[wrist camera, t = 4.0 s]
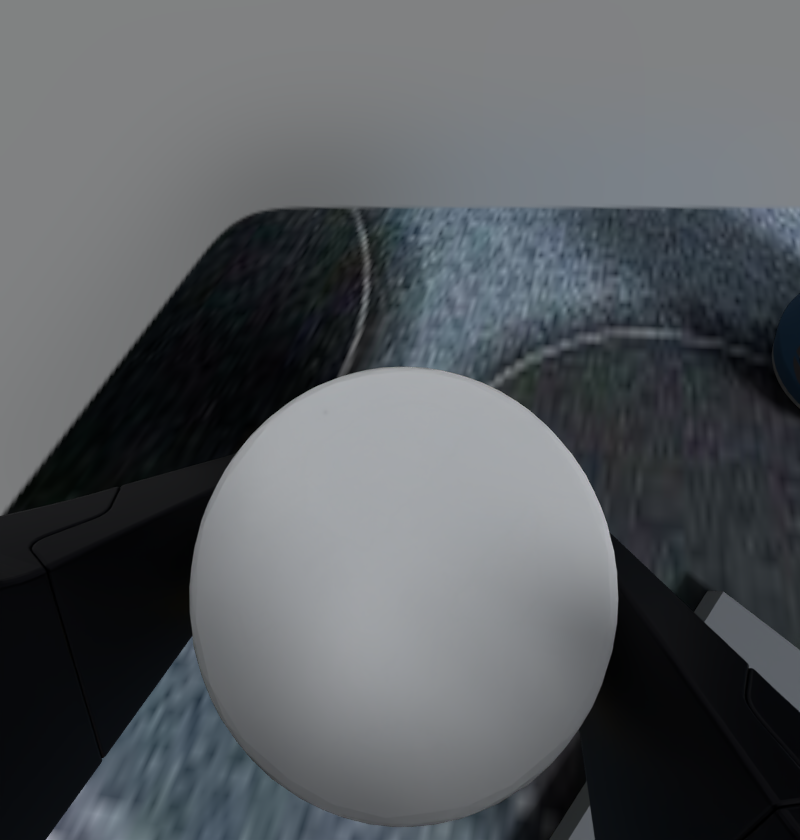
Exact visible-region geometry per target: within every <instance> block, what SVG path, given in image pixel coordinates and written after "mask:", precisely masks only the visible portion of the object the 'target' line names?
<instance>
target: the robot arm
mask: <svg viewBox="0 0 800 840" xmlns="http://www.w3.org/2000/svg"><path fill="white" fill-rule="evenodd" d="M235 455H236V454H233V455H229V456H225V457H222V458H218V459H215V460H211V461H208V462H204V463H201V464H197V465H193V466H190V467H186V468H183V469H179V470H176V471H172V472H169V473H165V474H161V475H158V476H154V477H151V478H147V479H144V480H140V481H137V482H133V483H129V484H126V485H123V486H121V488H120V487H115V488H111V489H108V490H104V491H101V492H97V493H94V494H90V495H86V496H82V497H79V498H75V499H71V500H67V501H63V502H59V503H55V504H51V505H47V506H42V507H38V508H34V509H30V510H25V511H21V512H17V513H12V514H8V515H3V516H0V840H46V839H47V837H48V836H49V834H50V833H51V832H52V830H53V829H54V827H55V826H56V825H57V823H58V822H59V821H60V819H61V818H62V816H63V815H64V814H65V812H66V811H67V809H68V808H69V807H70V805H71V804H72V802H73V801H74V800H75V798H76V797H77V796H78V794H79V793H80V791H81V790H82V789H83V787H84V786H85V784H86V783H87V782H88V780H89V779H90V777H91V776H92V775H93V773H94V772H95V771H96V769H97V768H98V766H99V765H100V764H101V762H102V758H104V757H105V756H106V755H107V753H108V752H109V751H110V749H111V748H112V746H113V745H114V744H115V742H116V741H117V739H118V738H119V737H120V735H121V734H122V733H123V731H124V730H125V728H126V727H127V726H128V724H129V723H130V721H131V720H132V719H133V717H134V716H135V715H136V713H137V712H138V710H139V709H140V708H141V706H142V705H143V703H144V702H145V701H146V699H147V698H148V696H149V695H150V694H151V692H152V691H153V690H154V688H155V687H156V685H157V684H158V683H159V681H160V680H161V678H162V677H163V676H164V674H165V673H166V672H167V670H168V669H169V667H170V666H171V665H172V663H173V662H174V660H175V659H176V658H177V656H178V655H179V653H180V652H181V651H182V649H183V648H184V647H185V645H186V644H187V642H188V641H189V640H190V638H191V637H192V635H193V634H192V625H191V618H190V595H189V586H190V576H191V567H192V560H193V554H194V547H195V543H196V540H197V536H198V532H199V528H200V524H201V521H202V518H203V515H204V513H205V510H206V507H207V504H208V502H209V500H210V498H211V496H212V494H213V492H214V490H215V488H216V486H217V484H218V482H219V480H220V478H221V477H222V475H223V473H224V471H225V469H226V468H227V466H228V465H229V463H230V462H231V460H232V458H233V457H234V456H235ZM609 534H610V538H611V541H612V545H613V549H614V555H615V562H616V569H617V584H618V613H617V626H616V632H615V638H614V644H613V650H612V654H611V657H610V660H609V663H608V666H607V670H606V673H605V676H604V679H603V682H602V686H601V688H600V690H599V693H598V695H597V697H596V700H595V702H594V704H593V707H592V708H591V710H590V712H589V713H588V715H587V717H586V718H585V720H584V722H583V723H582V725H581V727H580V728H579V730H580V738H581V745H582V752H583V759H584V766H585V773H586V781H587V788H588V795H589V802H590V809H591V816H592V824H593V831H594V838H595V840H800V712H799V711H798V710H797V709H796V708H795V707H794V706H793V705H792V704H791V703H790V702H789V701H788V700H786V699H785V698H784V697H783V696H782V695H781V694H780V693H779V692H778V691H777V690H776V689H775V688H774V687H772V686H771V685H770V684H769V683H768V682H767V681H766V680H765V679H764V678H763V677H762V676H761V675H760V674H759V673H758V672H757V671H756V670H755V669H753V668H749V664H748V663H747V662H746V661H745V660H744V659H743V658H742V657H741V656H740V655H739V654H738V653H737V652H735V651H734V650H733V649H732V648H731V647H730V646H729V645H728V644H727V643H726V642H725V641H724V640H723V639H722V638H721V637H720V636H719V635H717V634H716V633H715V632H714V631H713V630H712V629H711V628H710V627H709V626H708V625H707V624H706V623H705V622H704V621H703V620H702V619H701V618H700V617H698V616H697V615H696V614H695V613H694V612H693V611H692V610H691V609H690V608H689V607H688V606H687V605H686V604H685V603H684V602H683V601H682V600H681V599H679V598H678V597H677V596H676V595H675V594H674V593H673V592H672V591H671V590H670V589H669V588H668V587H667V586H666V585H665V584H664V583H663V582H661V581H660V580H659V579H658V578H657V577H656V576H655V575H654V574H653V573H652V572H651V571H650V570H649V569H648V568H647V567H646V566H645V565H644V564H642V563H641V562H640V561H639V560H638V559H637V558H636V557H635V556H634V555H633V554H632V553H631V552H630V551H629V550H628V549H627V548H626V547H625V546H623V545H622V544H621V543H620V542H619V541H618V540H617V539H616V538H615V537H614V536H613V535H612V534H611V533H610V532H609Z"/></svg>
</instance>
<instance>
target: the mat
mask: <svg viewBox="0 0 800 840" xmlns="http://www.w3.org/2000/svg"><path fill="white" fill-rule="evenodd" d="M694 613H695V614H696V615H697V616H698V617H700V618H701V619H702V620H703V621H704V622H705V623H706V624H707V625H708V626H709V627H710V628H711V629H712V630H713V631H714V632H715V633H716V634H717V635H719V636H720V637H721V638H722V639H723V640H724V641H725V642H726V643H727V644H728V645H729V646H730V647H731V648H732V649H733V650H734V651H735V652H737V653H738V654H739V655H740V656H741V657H742V658H743V659H744V660H745V661H746V662H747V663H748V664H749V668H753V669H755V670H756V671H757V672H758V673H759V674H760V675H761V676H762V677H763V678H764V679H765V680H766V681H767V682H768V683H769V684H770V685H771V686H772V687H774V688H775V689H776V690H777V691H778V692H779V693H780V694H781V695H782V696H783V697H784V698H785V699H786V700H788V701H789V702H790V703H791V704H792V705H793V706H794V707H795V708H796V709H797V710H798V711H799V712H800V650H799V649H798V648H796V647H795V646H794V645H792V644H791V643H790V642H788V641H787V640H786V639H785V638H783V637H782V636H781V635H779V634H778V633H777V632H775V631H774V630H773V629H771V628H770V627H769V626H768V625H766V624H765V623H764V622H762V621H761V620H760V619H758V618H757V617H756V616H755V615H753V614H752V613H751V612H749V611H748V610H747V609H745V608H744V607H743V606H742V605H740V604H739V603H738V602H736V601H735V600H734V599H732V598H731V597H730V596H728V595H727V594H726V593H725V592H722V591H707V592H706V594H705V596H704V597H703V599H702V600H701V602H700V603H699V605H698V607H697V608H696V610H695V611H694ZM549 840H595V838H594V831H593V824H592V816H591V809H590V802H589V795H588V788H587V781H586V783H585V784H584V786H583V787H582V789H581V791H580V792H579V794H578V795H577V797H576V798H575V800H574V802H573V803H572V805H571V806H570V808H569V809H568V811H567V813H566V814H565V816H564V817H563V819H562V820H561V822H560V824H559V825H558V827H557V828H556V830H555V831H554V833H553V835H552V836H551V838H550V839H549Z"/></svg>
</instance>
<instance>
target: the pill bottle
mask: <svg viewBox="0 0 800 840" xmlns="http://www.w3.org/2000/svg"><path fill="white" fill-rule="evenodd" d="M189 595H190V618H191V625H192V634H193V643H194V649H195V653H196V657H197V660H198V664H199V667H200V671H201V675H202V677H203V680H204V683H205V685H206V688H207V690H208V693H209V695H210V698H211V700H212V702H213V704H214V706H215V708H216V710H217V712H218V714H219V716H220V718H221V719H222V721H223V722H224V724H225V725H226V727H227V728H228V729H229V731H230V732H231V734H232V735H233V737H234V738H235V740H236V741H237V742H238V744H239V745H240V746H241V747H242V748H243V750H244V751H245V752H246V753H247V754H248V755H249V757H250V758H251V759H252V760H253V761H254V762H255V763H256V764H257V765H258V766H259V767H260V768H261V769H262V770H263V771H264V772H265V773H266V774H267V775H268V776H270V777H271V778H272V779H273V780H274V781H276V782H277V783H279V784H280V785H282V786H283V787H284V788H286V789H287V790H289V791H290V792H292V793H293V794H295V795H296V796H298V797H299V798H301V799H302V800H304V801H306V802H309V803H311V804H313V805H315V806H317V807H319V808H321V809H323V810H325V811H328V812H330V813H333V814H336V815H338V816H341V817H343V818H347V819H351V820H355V821H359V822H363V823H367V824H372V825H381V826H390V827H414V826H424V825H434V824H439V823H444V822H448V821H452V820H457V819H461V818H463V817H466V816H469V815H472V814H474V813H477V812H479V811H482V810H484V809H486V808H489V807H491V806H494V805H496V804H498V803H500V802H501V801H503V800H505V799H506V798H508V797H509V796H511V795H512V794H514V793H515V792H517V791H519V790H520V789H522V788H523V787H525V786H526V785H528V784H529V783H530V782H531V781H533V780H534V779H535V778H536V777H537V776H538V775H540V774H541V773H542V772H543V771H544V770H545V769H546V768H548V767H549V766H550V765H551V764H552V762H553V761H554V760H555V759H556V758H557V757H558V756H559V754H560V753H561V752H562V751H563V750H564V749H565V748H566V746H567V745H568V744H569V742H570V741H571V739H572V738H573V736H574V735H575V734H576V732H577V731H578V729H579V728H580V727H581V725H582V723H583V722H584V720H585V718H586V717H587V715H588V713H589V712H590V710H591V708H592V707H593V704H594V702H595V700H596V697H597V695H598V693H599V690H600V688H601V686H602V682H603V679H604V676H605V673H606V670H607V666H608V663H609V660H610V657H611V654H612V650H613V644H614V638H615V632H616V626H617V613H618V584H617V569H616V562H615V555H614V549H613V545H612V541H611V538H610V534H609V530H608V526H607V522H606V519H605V517H604V514H603V511H602V509H601V506H600V504H599V501H598V499H597V497H596V495H595V492H594V490H593V488H592V486H591V484H590V482H589V480H588V478H587V476H586V475H585V473H584V472H583V470H582V469H581V467H580V466H579V464H578V463H577V461H576V460H575V458H574V457H573V455H572V454H571V453H570V451H569V450H568V449H567V448H566V447H565V445H564V444H563V443H562V442H561V441H560V440H559V438H558V437H557V436H556V435H555V434H554V433H553V432H552V431H551V430H550V429H549V428H548V426H547V425H545V424H544V423H543V422H542V421H541V420H540V419H539V418H537V417H536V416H535V415H534V414H533V413H532V412H531V411H529V410H528V409H527V408H525V407H524V406H522V405H521V404H520V403H518V402H517V401H515V400H514V399H512V398H510V397H509V396H507V395H505V394H504V393H502V392H501V391H499V390H497V389H495V388H492V387H490V386H488V385H486V384H484V383H482V382H479V381H476V380H473V379H470V378H468V377H464V376H461V375H458V374H454V373H450V372H446V371H441V370H435V369H429V368H418V367H385V368H377V369H370V370H364V371H360V372H356V373H353V374H349V375H345V376H341V377H339V378H336V379H334V380H331V381H329V382H326V383H324V384H321V385H319V386H316V387H314V388H312V389H310V390H308V391H307V392H305V393H303V394H302V395H300V396H298V397H297V398H295V399H293V400H292V401H290V402H289V403H288V404H286V405H285V406H284V407H282V408H281V409H280V410H278V411H277V412H276V413H275V414H273V415H272V416H271V417H269V418H268V419H267V420H266V421H265V422H264V423H263V424H262V425H261V426H260V427H259V428H258V429H257V430H256V431H255V432H254V433H253V434H252V435H251V436H250V437H249V438H248V440H247V441H246V442H245V443H244V445H243V446H242V447H241V448H240V450H239V451H238V452H237V453H236V455H235V456H234V457H233V458H232V460H231V462H230V463H229V465H228V466H227V468H226V469H225V471H224V473H223V475H222V477H221V478H220V480H219V482H218V484H217V486H216V488H215V490H214V492H213V494H212V496H211V498H210V500H209V502H208V504H207V507H206V510H205V513H204V515H203V518H202V521H201V524H200V528H199V532H198V536H197V540H196V543H195V547H194V554H193V560H192V567H191V576H190V586H189Z"/></svg>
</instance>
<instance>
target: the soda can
mask: <svg viewBox="0 0 800 840" xmlns="http://www.w3.org/2000/svg"><path fill="white" fill-rule="evenodd" d="M772 364H773V369H774V372H775V375H776V378H777V380H778V382H779V384H780V386H781V387H782V389H783V390H784V392H785V393H786V395H787V396H788V397H789V398H790V399H791V401H792V402H793V403H794V404H795V405H796V406H797V407H798V408H800V293H799V294H798V295H797V296H796V297H795V298H794V299H793V300H792V301H791V302H790V304H789V305H788V306H787V308H786V309H785V311H784V313H783V315H782V317H781V319H780V322H779V325H778V328H777V332H776V336H775V340H774V344H773V349H772Z"/></svg>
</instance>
